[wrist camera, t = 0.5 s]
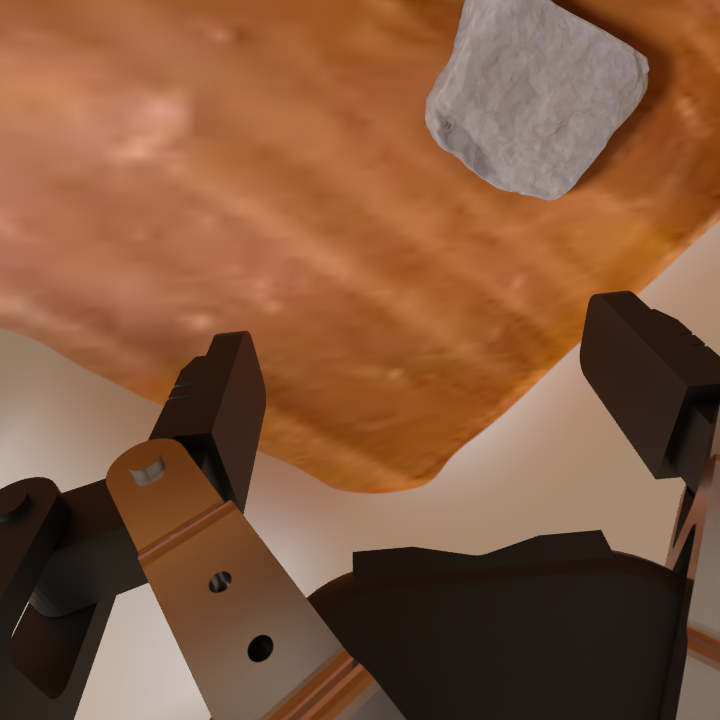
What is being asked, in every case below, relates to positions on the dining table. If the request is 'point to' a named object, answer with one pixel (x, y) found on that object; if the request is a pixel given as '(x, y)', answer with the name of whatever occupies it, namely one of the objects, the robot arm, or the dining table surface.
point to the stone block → (532, 94)
